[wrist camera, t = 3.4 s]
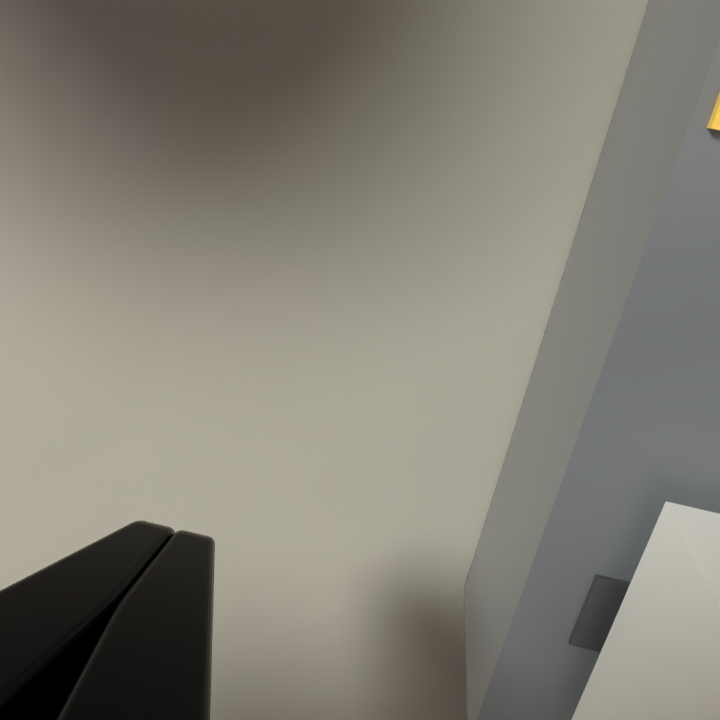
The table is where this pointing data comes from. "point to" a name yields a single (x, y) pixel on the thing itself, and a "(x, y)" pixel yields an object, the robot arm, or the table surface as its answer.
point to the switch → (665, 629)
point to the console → (610, 387)
